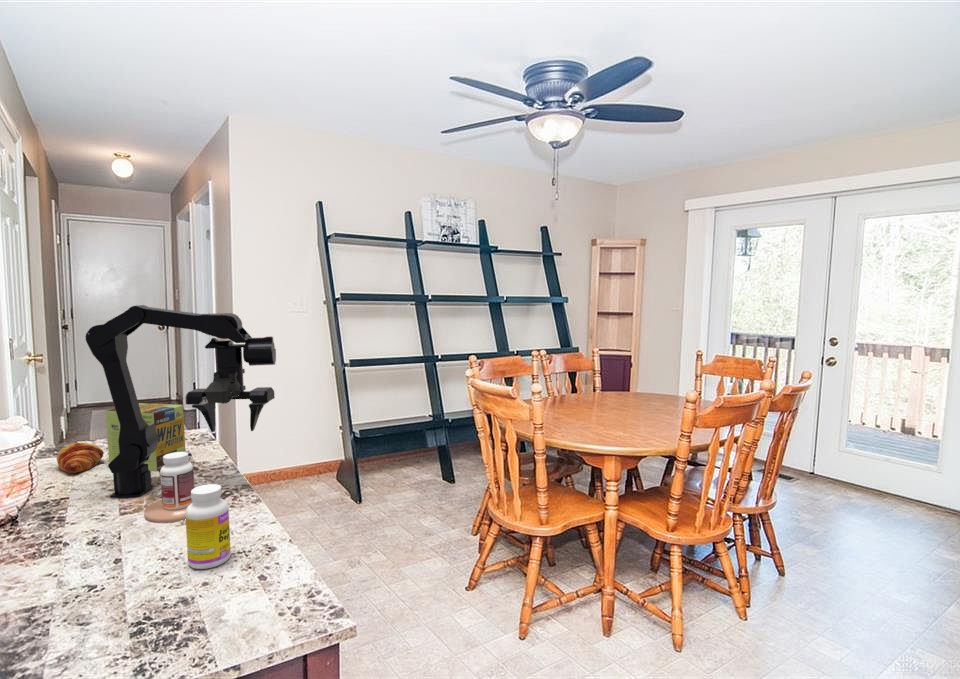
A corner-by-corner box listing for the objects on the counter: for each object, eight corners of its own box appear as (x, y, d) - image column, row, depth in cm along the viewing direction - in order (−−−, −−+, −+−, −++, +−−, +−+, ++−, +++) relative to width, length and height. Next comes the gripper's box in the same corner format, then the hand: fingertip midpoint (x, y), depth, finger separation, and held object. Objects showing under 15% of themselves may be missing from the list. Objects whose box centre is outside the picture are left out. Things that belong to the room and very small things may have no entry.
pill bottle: (196, 497, 120) (193, 448, 119) (195, 507, 114) (192, 456, 113) (163, 502, 117) (160, 452, 116) (161, 513, 111) (157, 461, 110)
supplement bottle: (224, 569, 91) (220, 494, 90) (182, 572, 90) (177, 497, 89) (235, 550, 97) (232, 480, 96) (196, 553, 96) (192, 483, 95)
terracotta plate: (131, 523, 109) (130, 519, 109) (164, 498, 122) (164, 494, 122) (197, 521, 110) (197, 516, 109) (223, 497, 122) (223, 492, 122)
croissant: (73, 469, 154) (55, 446, 151) (110, 447, 158) (92, 425, 156) (63, 490, 136) (41, 465, 133) (104, 466, 140) (84, 441, 138)
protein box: (157, 471, 140) (153, 412, 139) (108, 467, 144) (104, 410, 142) (187, 459, 150) (184, 404, 149) (141, 456, 154) (137, 402, 152)
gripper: (171, 372, 119) (175, 441, 121) (257, 371, 120) (260, 439, 122) (195, 365, 130) (198, 428, 132) (273, 364, 131) (276, 427, 133)
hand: (232, 431), depth 129 cm, fingers open, 9 cm apart
